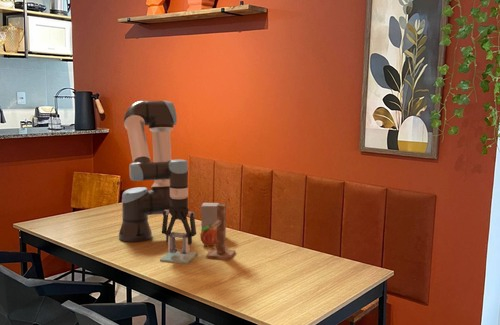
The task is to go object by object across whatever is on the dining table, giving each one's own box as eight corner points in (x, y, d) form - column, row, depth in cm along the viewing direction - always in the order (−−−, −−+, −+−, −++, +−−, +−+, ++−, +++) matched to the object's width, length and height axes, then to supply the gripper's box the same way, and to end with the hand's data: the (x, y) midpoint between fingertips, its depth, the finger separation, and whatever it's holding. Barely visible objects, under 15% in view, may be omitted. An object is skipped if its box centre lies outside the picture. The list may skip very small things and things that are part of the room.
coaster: (159, 261, 207) (159, 259, 207) (171, 252, 219) (171, 250, 219) (187, 263, 205) (187, 262, 205) (197, 254, 216) (197, 252, 216)
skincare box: (220, 233, 247) (220, 202, 245) (217, 238, 240) (218, 205, 238) (203, 233, 248) (203, 201, 246) (200, 237, 241) (200, 205, 238)
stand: (200, 263, 205) (200, 211, 202) (213, 250, 222) (213, 201, 219) (224, 266, 203) (224, 213, 200) (235, 252, 220) (236, 203, 216)
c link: (169, 252, 211) (169, 234, 210) (172, 250, 214) (172, 232, 212) (185, 254, 209) (185, 235, 208) (188, 251, 212) (188, 233, 211)
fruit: (223, 244, 230) (223, 223, 229) (208, 249, 223) (208, 227, 222) (210, 240, 236) (211, 220, 234) (195, 245, 229) (195, 223, 228)
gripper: (152, 197, 207) (153, 251, 210) (198, 200, 202) (198, 255, 206) (159, 193, 214) (160, 246, 217) (204, 197, 209) (204, 250, 213)
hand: (179, 250), depth 211 cm, fingers closed on c link, 7 cm apart
